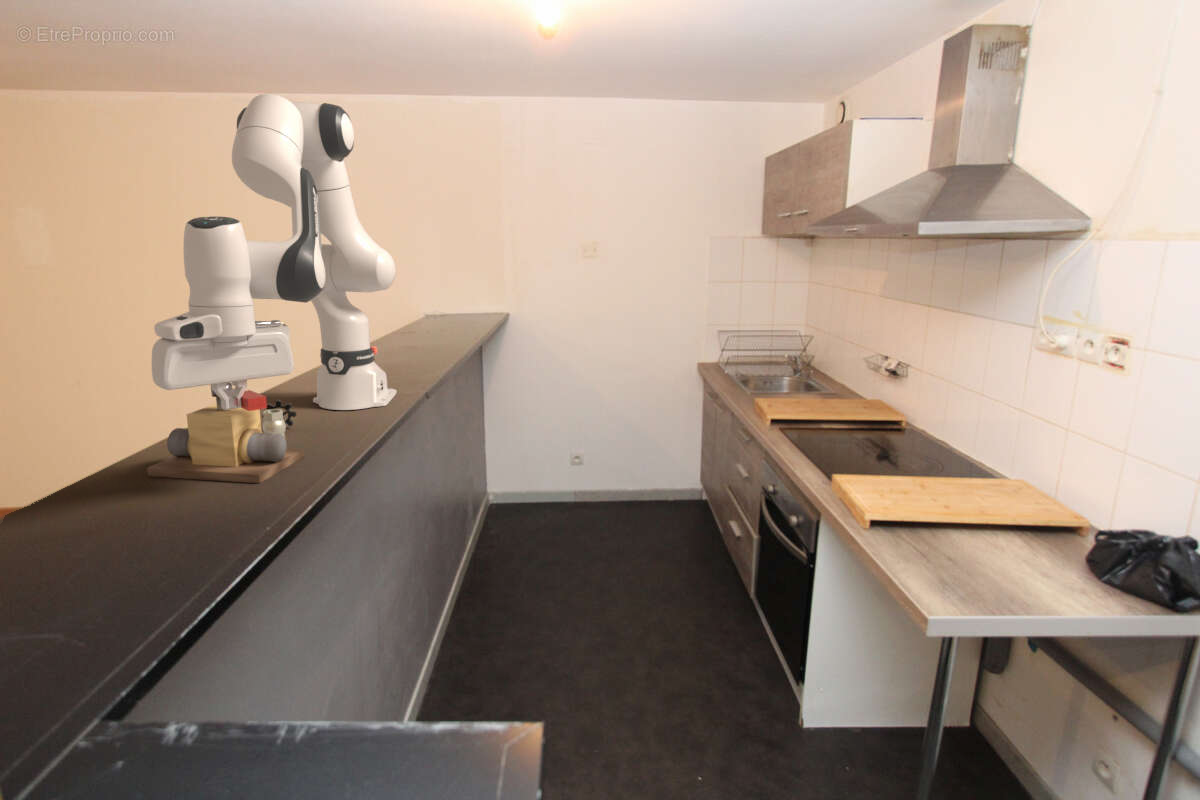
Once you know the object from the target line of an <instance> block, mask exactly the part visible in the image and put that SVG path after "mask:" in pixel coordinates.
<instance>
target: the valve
mask: <svg viewBox="0 0 1200 800" xmlns="http://www.w3.org/2000/svg"><path fill="white" fill-rule="evenodd" d="M279 408H280V409H279ZM291 408H292V403H291V402H287V403H286V404H285V405H283V404H282V400H281V399H277V400H276V401H275V404H274V405H272V404H271V403H267V408H265V409H264V410H263V412H262V415H261V417H262V419H263V422H262V432H263V433H272V434H282V435H283V436H284V437H285V438H286V435H285V434H286V433H285V432H286V427H287V426H289V427H292V426H294V425H293V424H294V421H293V419H292V420H291V417H293V418H295V417H296V416H297V412H296V411H291V410H290V409H291ZM283 410H285V411H283ZM285 415H287V418H286V419H285V420H284V418H285ZM286 424H287V425H286Z"/></svg>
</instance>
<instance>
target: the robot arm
mask: <svg viewBox="0 0 1200 800" xmlns="http://www.w3.org/2000/svg"><path fill="white" fill-rule="evenodd" d="M235 133H236V134H235V136H234V140H233V144H232V150H231V163H232V168H233V169H234V172H235V174H236V175H237V177H238V179H239V180H240V181H241V182H242V183H243V184H244V185H245V186H246V187H247V188H249V190H251V191H253V192H254V193H255V194H257V195H260V196H261V197H263V198H265V199H269V200H273V201H276V202H278V203H280V204H283V205H285V206H287V207H289V208H290V209H291V225H292V227H291V228H292V237H290V238H289V239H286V240H282V241H272V240H271V241H267V240H266V241H265V240H264V241H263V240H252V239H251V240H249V239H247V237H246V235H245V229H244V227H243V223H242V222H241V221H240V220H239V219H237V218H233V217H231V216H230V217H227V216H201V217H200V216H199V217H193V218H192V219H190V220H189V221H187V222H186V223H185V227H184V231H183V233H184V234H183V264H184V276H185V279H186V281H187V283H188V286H189V296H188V303H187V305H188V311H187V312H184V313H181V314H179V315H177V316H173V317H169V318H168V319H167V318H166V319H165V320H161V321H158V322H156V324H154V327H153V329H154V333H155V335H156V336H157V337H159V339H157V340H156V341H155V342H154V344H153V346H152V350H151V377H152V381H153V383H154V384H155V385H156V386H157V387H158V388H160V389H163V390H166V391H172V390H180V389H189V388H195V387H204V386H210V388H211V387H212V390H213V391H214V392H215V393H216V394H217V396H218V397H219V398H220V399H221V407H222V409H224V410H230V409H236V408H241V406H242V405H241V397H242V396H243V394H244V392H245V391H247V388H248V382H247V381H250V380H256V379H263V378H271V377H278V376H279V377H280V376H285V375H286V376H288V375H291V373H292V372H293V370H294V369H295V365H294V364H295V363H294V357H293V352H292V351H293V350H292V349H291V343H290V340H291V334H290V329H289V326H288V325H287V324H286V323H284V322H282V321H280V320H279V319H278V320H277V319H273V320H256V318H255V317H256V315H255V305H254V299H256V300H282V301H286V302H287V301H288V302H296V303H309V302H311V303H312V305H313V307H314V310H315V311H316V314H317V318H318V322H319V330H320V337H321V338H320V339H321V348H320V355H319V357H320V363H321V364H322V366H321V367H320V368H319V369H318V370H317V373H316V374H317V378H316V380H317V382H316V383H317V384H316V385H317V387H316V397H313V399H312V402H313V404H318V406H319V407H320V408H322V409H325V410H326V409H327V410H336V411H351V410H362V409H363V410H364V409H368V408H369V409H370V408H375V407H385V406H387V405H389V403H390V402H391V401H392V399H393V398H395V396H396V395H397V393H398V392H397V390H396V389H394V388H391V387H390V388H389V387H388V378H387V373H386V372H385V370H383V369H382V368H381V367H380V366H379V365H378V364H377V363H376V362H375V360H376V359H375V355H377V353H378V348H377V346H371V341H370V340H371V339H370V338H371V337H370V322H369V321H370V320H369V318H368V316H367V314H366V313H365V312H364V311H363V310H361V309H360V308H358V307H356V306H354V305H353V304H352V303H351V301H350V300H349V298H348V296H347V293H348V292H350V293H374V292H381V291H385V290H388V289H390V287H391V286H392V284H393V283H394V281H395V279H396V274H397V267H396V262H395V260H394V258H393V257H392V255H391V254H390V252H389V251H387V250H386V249H384V248H382V247H381V246H380V245H379V244H377V242H375V240H374V239H372V238H371V236H370V235H369V234H368V232H367V231H366V230H365V228H364V226H363V225H362V223H361V221H360V219H359V217H358V214H357V210H356V205H355V202H354V198H353V193H352V189H351V184H350V179H349V176H348V175H349V174H348V171H347V167H346V163H345V160H344V159H345V158H347V157H348V156H349V155H350V154H351V152H352V151H353V149H354V147H355V146H354V144H355V131H354V126H353V123H352V121H351V118H350V115H349V114H348V113H347V111H346V110H344V109H343V107H341V106H339V105H337V104H333V103H327V102H323V103H322V104H321V103H313V102H302V101H301V102H300V101H299V102H298V101H290V100H289V99H287V98H286V97H283V96H281V95H278V94H275V93H262V94H259V95H256V96H255V97H253V98H252V99H251V100H250V101H249V103H248V105H247V106H246V107H244V108H243V109H242V110H241V111H240V112H239V114H238V116H237V118H236V132H235ZM322 235H323V236H324V237H325V238H326V239H327V240H328V241H329V242H330V244H322V237H321V236H322ZM346 292H347V293H346ZM227 382H231V383H232V387H233V386H234V392H233V394H232V396H231V397H228V396H227V395H226V393H225V392H224V391H223V390H225V389H227V386H226V383H227Z"/></svg>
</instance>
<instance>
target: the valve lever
mask: <svg viewBox="0 0 1200 800" xmlns="http://www.w3.org/2000/svg"><path fill="white" fill-rule="evenodd" d="M226 386H227V389H225V390H223V391H224V392H225V393H226V395H227V396H228V397H231V396H232V394H233V392H234V389H235V387H234V388H233V385H232V382H227V383H226ZM210 391H211V397H213V398H216V397H218V396H217V394H216V393H215V392H214V391H213V390H212V387H211V386H210ZM267 404H268V403H267V396H266V395H263V394H261V393H258V392H255V391H252V390H251V389H249V390H248V389H247V390H245V392H244V394H243V396H242V397H241V405H242V406H241V408H243V409H245V410H248V411H253V410H259V409H260V410H266V408H267Z"/></svg>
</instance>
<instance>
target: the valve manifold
mask: <svg viewBox="0 0 1200 800" xmlns="http://www.w3.org/2000/svg"><path fill="white" fill-rule="evenodd" d="M215 401H216V403H214V404H211V405H209V406H206V407H203V408H201V409H197V410H194V411H192V412H189V413H187V414H186V420H187V421H186V422H187V428H185V427H184V428H183V427H180V428H179V427H178V428H177V427H176V428H174V429H172V430H171V432H170V433H169V435H168V437H167V440H166V447H167V450H168V453H170V455H172V456H171V457H169V458H166V459H164V460H162V461H159V462H157V463H155V464H153V465H150V466H148V467H146V470H147V471H146V472H147V477H155V478H158V477H159V478H170V479H185V480H186V479H187V480H188V479H189V480H202V481H203V480H204V481H217V482H218V481H220V482H231V483H232V482H234V483H235V482H236V483H248V484H249V483H252V484H254V483H255V484H261V483H263V482H264V481H266V480H268V479H269V478H271V477H273V476H274V475H276V474H278V473H279V472H281V471H283V470H285V469H286V468H288V467H289V466H291V465H293V464H295V463H296V462H298V461H299V460H302V459H303V458H304V457H305V455H304V454H305V453H304V449H301V448H300V449H299V448H288V447H287V446H288V445H287V439H286V436H285V437H284V436H283V435H282V434H272V433H264V431H263V429H262V421H261V420H262V419H261V409H259V410H253V411H248V410H245V409H243V408H236V409H230V410H224V409H222V407H221V399H220V398H219V397H215Z"/></svg>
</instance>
